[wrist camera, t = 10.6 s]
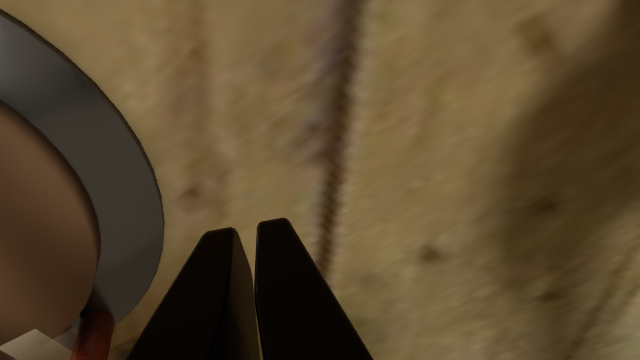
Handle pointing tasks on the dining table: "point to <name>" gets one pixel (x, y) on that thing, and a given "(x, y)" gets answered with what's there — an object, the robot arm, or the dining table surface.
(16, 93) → the bowl
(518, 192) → the dining table surface
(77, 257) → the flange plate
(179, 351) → the robot arm
